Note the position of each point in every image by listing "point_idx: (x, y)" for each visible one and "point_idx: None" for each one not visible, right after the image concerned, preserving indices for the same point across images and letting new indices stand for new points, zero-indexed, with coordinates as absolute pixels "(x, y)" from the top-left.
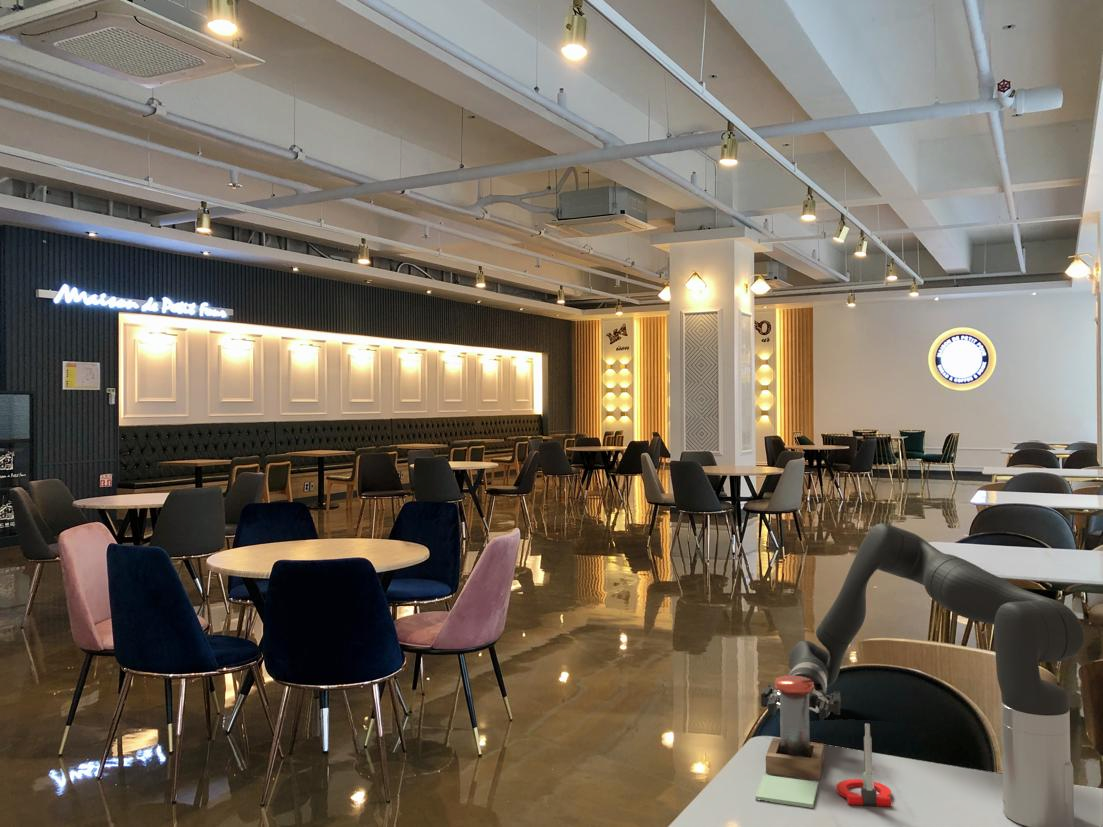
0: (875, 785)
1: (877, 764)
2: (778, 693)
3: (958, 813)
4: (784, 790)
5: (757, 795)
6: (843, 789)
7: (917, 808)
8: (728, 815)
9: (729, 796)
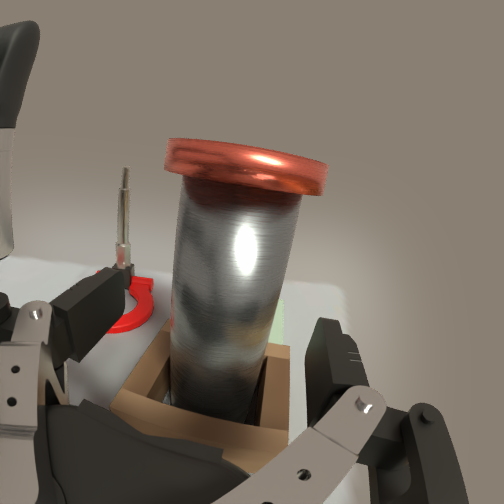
0: None
1: None
2: (343, 445)
3: (39, 264)
4: None
5: (281, 301)
6: (145, 299)
7: (70, 275)
8: (305, 284)
9: (318, 311)
